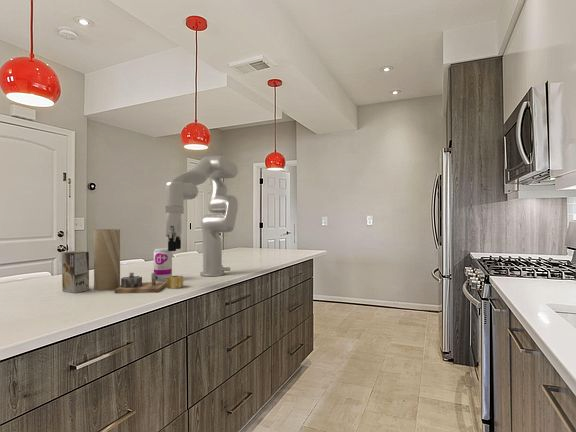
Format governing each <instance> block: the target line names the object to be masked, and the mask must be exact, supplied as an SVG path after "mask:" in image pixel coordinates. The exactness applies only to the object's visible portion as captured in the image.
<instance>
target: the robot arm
mask: <svg viewBox="0 0 576 432" xmlns="http://www.w3.org/2000/svg"><path fill="white" fill-rule="evenodd" d="M238 171H239V169H238V166H237V164H236V163H235V162H234V161H232V160H231V159H229V158H227V157H225V156H223V155H211V156H210V155H209V156H205V157H202V158H201V159H200V160H199V161H198V162H197V163H196V164H195V166H193V167H192V169H189V170H188V171H185V172H183V173H181V174H179V175H177V176H176V177H174V178H173V179H172V180H171V181H168V182H166V183H165V214H166V223H165V236H166V237H167V248H168V251H172V252H176V251H177V250H181V249H182V240H181V239H182V237H181V236H182V231H183V230H182V228H183V225H182V223H183V221H182V219H183V218H182V215H184V211H185V210H184V209H185V208H184V206H185V204H184V203H185V202H184V201H185V200H186V201H187V200H188V201H189V200H194V199H195V198H197V196H198V195H199V188H198V186H199V185H202V184H204V183H206V181H207V180H209V182H210V187H211V188H210V193H209V194H210V195H209V198H208V202H207V209H208V211H209V212H210V213H209V214H205V215H203V217H202V218H201V220H200V226H201V232H202V264H203V265H202V270H203V271H201V272H199V275H200V276H201V277H219V276H223V275H225V274H226V272H231V267H229V266H228V267H227V266H226V267H225V266H223V265H224V264H223V263H222V262H223V261H222V256H223V255H222V254H223V253H222V247H223V246H222V244H223V242H222V238H221V235H220V234H219V233H231V232H233V231H234V228H235V224H236V220H237V216H238V215H237V214H238V210H239V209H238V208H239V203H238V199H237V197H236V196H235V195H228V194H227V193H228V187H227V184H226V183H225V182H224V181H223V180H222V179H234V178H236V177H237V175H238Z"/></svg>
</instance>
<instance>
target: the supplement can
mask: <svg viewBox="0 0 576 432" xmlns="http://www.w3.org/2000/svg"><path fill="white" fill-rule="evenodd" d="M153 273H156V282H167V277H169V276H173V251H168V247H167V248H166V247H163V248H162V247H161V248H154V251H153Z"/></svg>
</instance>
